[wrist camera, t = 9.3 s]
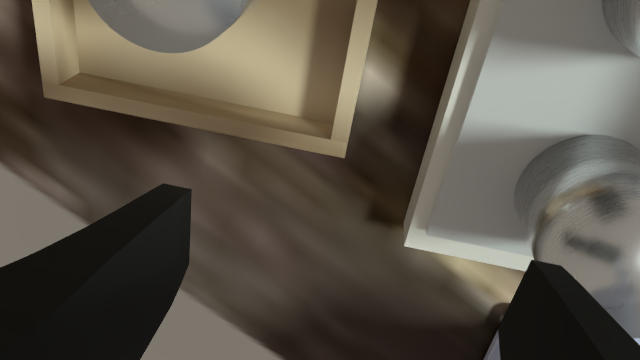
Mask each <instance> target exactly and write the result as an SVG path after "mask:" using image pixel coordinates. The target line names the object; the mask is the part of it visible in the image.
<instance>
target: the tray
mask: <svg viewBox="0 0 640 360" xmlns="http://www.w3.org/2000/svg"><path fill="white" fill-rule="evenodd" d="M377 1H378V0H261V1H260V2H259V3H258V4H257V5H256V6H255V7H254V8H252V9H251V10H250V11H249V12H248V13H246V14H245V15H244V16H243V17H242V18H240V19H239V20H238V21H237V22H235V23H234V24H233V25H232V26H231V27H229V28H228V29H227V30H226V31H225V32H223V33H222V34H221V35H220V36H219V37H217V38H216V39H215V40H213V41H212V42H210V43H209V44H207V45H205V46H203V47H201V48H199V49H196V50H193V51H189V52H183V53H161V52H156V51H152V50H148V49H145V48H143V47H140V46H138V45H136V44H134V43H132V42H130V41H128V40H126V39H125V38H123V37H122V36H120V35H119V34H118V33H116V32H115V31H114V30H113V29H111V28H110V27H109V26H108V25H107V24H106V23H105V22H104V21H103V20H102V19H101V18H100V16H99V15H98V14H97V13H96V11H95V10H94V9H93V8H92V6H91V5H90V3H89V1H88V0H32V7H33V15H34V23H35V31H36V38H37V46H38V54H39V62H40V70H41V77H42V85H43V93H44V97H45V98H49V99H54V100H59V101H64V102H69V103H74V104H79V105H84V106H89V107H94V108H99V109H104V110H109V111H114V112H119V113H124V114H128V115H133V116H138V117H143V118H148V119H153V120H158V121H163V122H168V123H173V124H178V125H183V126H188V127H193V128H198V129H202V130H207V131H212V132H217V133H222V134H227V135H232V136H237V137H242V138H247V139H252V140H257V141H262V142H267V143H272V144H276V145H281V146H286V147H291V148H296V149H301V150H306V151H311V152H316V153H321V154H326V155H331V156H336V157H341V158H345V154H346V149H347V144H348V139H349V135H350V130H351V125H352V120H353V115H354V111H355V106H356V101H357V96H358V92H359V87H360V82H361V77H362V73H363V68H364V63H365V58H366V54H367V49H368V44H369V39H370V35H371V30H372V25H373V20H374V15H375V11H376V6H377Z"/></svg>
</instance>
